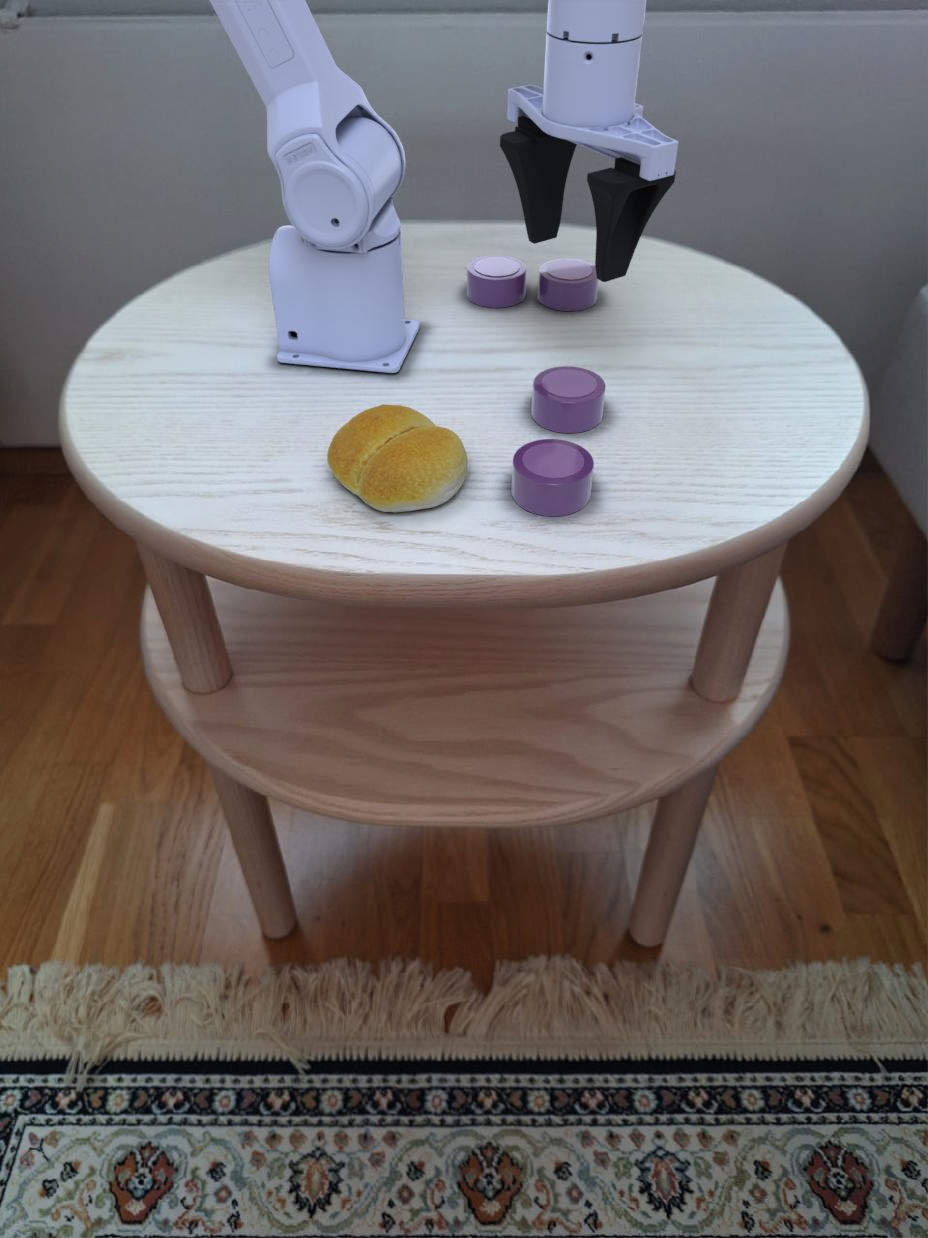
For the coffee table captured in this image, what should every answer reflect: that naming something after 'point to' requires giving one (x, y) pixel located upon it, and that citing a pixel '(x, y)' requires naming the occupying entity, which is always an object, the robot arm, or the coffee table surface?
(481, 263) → the purple short cylinder
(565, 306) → the plum dish
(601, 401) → the plum dish
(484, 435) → the coffee table surface
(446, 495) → the bread roll
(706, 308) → the coffee table surface
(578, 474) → the plum dish front
